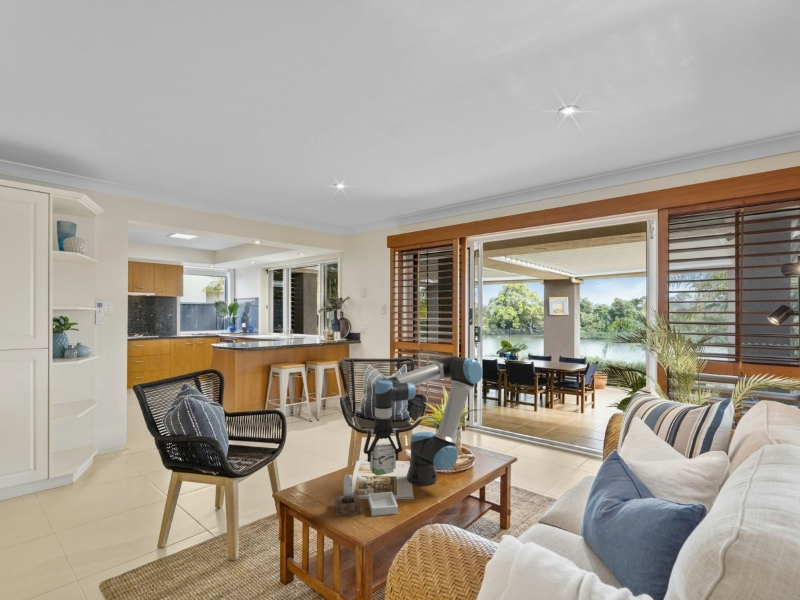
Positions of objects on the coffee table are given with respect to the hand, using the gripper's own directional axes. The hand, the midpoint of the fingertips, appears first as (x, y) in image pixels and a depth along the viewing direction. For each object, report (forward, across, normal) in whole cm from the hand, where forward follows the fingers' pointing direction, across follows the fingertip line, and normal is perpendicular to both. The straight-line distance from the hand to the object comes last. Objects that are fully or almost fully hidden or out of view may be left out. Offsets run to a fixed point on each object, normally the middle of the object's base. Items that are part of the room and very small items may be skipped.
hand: (382, 468), depth 183 cm
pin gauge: (+16, +15, 0) cm, 22 cm away
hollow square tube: (+17, +15, 0) cm, 22 cm away
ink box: (+2, 0, 0) cm, 2 cm away
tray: (+17, 0, 0) cm, 17 cm away
